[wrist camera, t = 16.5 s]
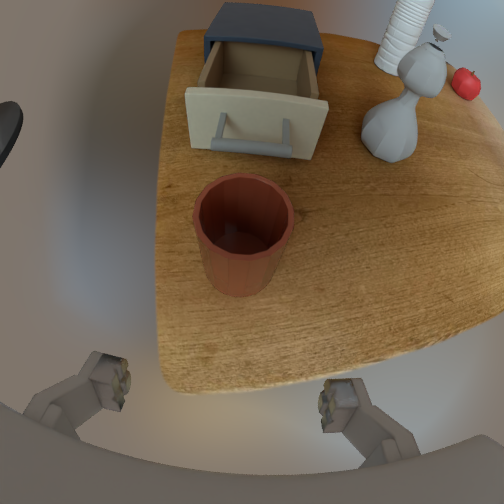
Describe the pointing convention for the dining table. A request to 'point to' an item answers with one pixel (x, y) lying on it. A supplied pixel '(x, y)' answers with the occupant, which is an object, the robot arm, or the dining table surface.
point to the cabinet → (265, 28)
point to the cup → (242, 231)
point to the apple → (466, 84)
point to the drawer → (256, 101)
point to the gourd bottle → (406, 101)
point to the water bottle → (402, 33)
